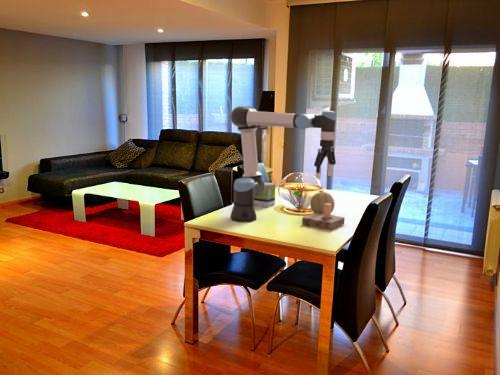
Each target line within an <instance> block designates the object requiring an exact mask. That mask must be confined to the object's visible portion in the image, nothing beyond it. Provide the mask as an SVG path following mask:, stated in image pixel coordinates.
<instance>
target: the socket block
mask: <svg viewBox="0 0 500 375" xmlns="http://www.w3.org/2000/svg"><path fill="white" fill-rule="evenodd" d="M345 220H346V219H345V217H344V216H340V215H339V216H338V215H334V214H333V215H332V214H331V217H330V220H327V219H323V213H318V212H316V213H314V212H313V213H310V214H308V215H306V216H303V217H302V221H301V224H302V225H304V226H309V227H313V228H317V229H318V228H319V229H322V230H323V229H324V230H326V231H327V230H328V231H333V230H336V229H337V228H339V227H341V226H344V225H345Z"/></svg>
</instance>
